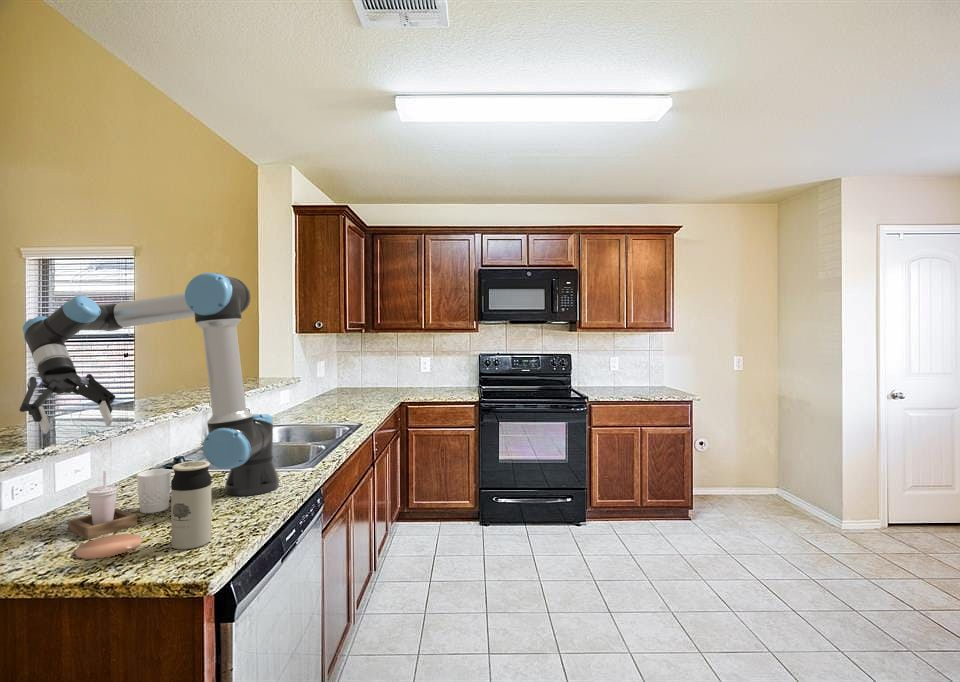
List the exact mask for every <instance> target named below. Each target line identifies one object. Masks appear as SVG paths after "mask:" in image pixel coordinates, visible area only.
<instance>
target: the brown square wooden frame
mask: <svg viewBox="0 0 960 682" xmlns="http://www.w3.org/2000/svg"><path fill="white" fill-rule="evenodd" d="M137 526H138V515H136V514H133V513H131V512H128V511H126V510H123V509H119V508H116V507H115V511H114V518H113V520H112V521H108V522H105V523H101V524H97V525H94V526H93V522H92V516H91V514H89V515H84V516H80V517H76V518H72V519H68V520H67V527H68V528H67V529H68V530H67V531H68V532H70V533H72V534H75V535H77V536H80V537H82V538H84V539H86V540H88V539H89V540H93V539H96V538H99V537H102V536H101V535H103V536H106V535H109V534H108V533H110V534H113V533H116V532H115V531H117V532H120V531H123V530H126V528H127V529H130V528H133V527H137ZM129 527H130V528H129ZM122 529H123V530H122ZM119 530H120V531H119ZM112 532H113V533H112ZM105 534H106V535H105ZM98 536H99V537H98ZM95 537H96V538H95Z"/></svg>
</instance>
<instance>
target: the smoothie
mask: <svg viewBox="0 0 960 682" xmlns="http://www.w3.org/2000/svg"><path fill="white" fill-rule="evenodd" d="M102 474H103V475H102V476H103V479H102V481H103V482H102V484H103V485H100V486H95V487H92V488H89V489H88V490H87V491H86V496H87V497H88V503H89V508H90V513H91V514H90V515H91V516H92V522H93V526H94V525H97V524H101V523H105V522H108V521H112V520H113V518H114V511H115V508H116V502H117V497H118V496H117V495H118V492H120V490H119V486H118V485H113V484H112V485H110V484H109V485H107V470H103V473H102Z"/></svg>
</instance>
